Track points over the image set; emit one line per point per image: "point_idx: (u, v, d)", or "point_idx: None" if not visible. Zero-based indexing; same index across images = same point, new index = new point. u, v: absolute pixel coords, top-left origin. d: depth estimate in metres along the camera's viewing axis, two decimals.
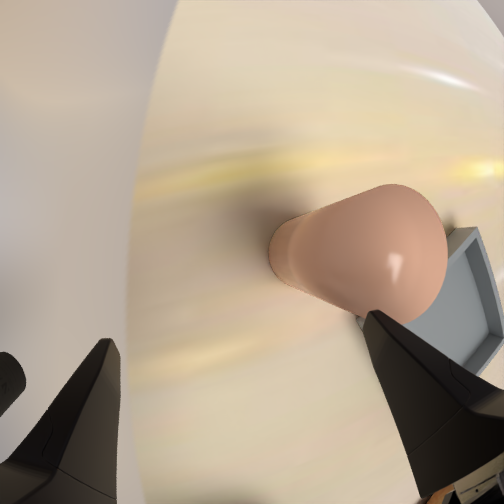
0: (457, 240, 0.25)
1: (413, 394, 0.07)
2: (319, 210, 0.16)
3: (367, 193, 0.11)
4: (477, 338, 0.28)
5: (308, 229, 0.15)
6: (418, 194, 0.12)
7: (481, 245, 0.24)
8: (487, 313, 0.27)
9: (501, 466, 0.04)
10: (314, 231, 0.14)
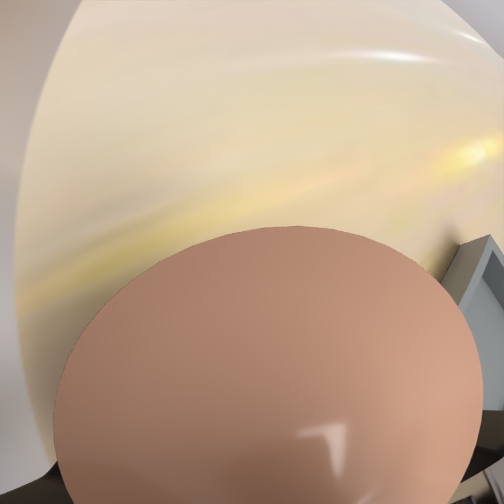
0: (468, 263, 0.17)
1: None
2: None
3: (108, 307, 0.03)
4: None
5: None
6: (349, 240, 0.03)
7: (501, 258, 0.16)
8: None
9: (466, 492, 0.04)
10: None
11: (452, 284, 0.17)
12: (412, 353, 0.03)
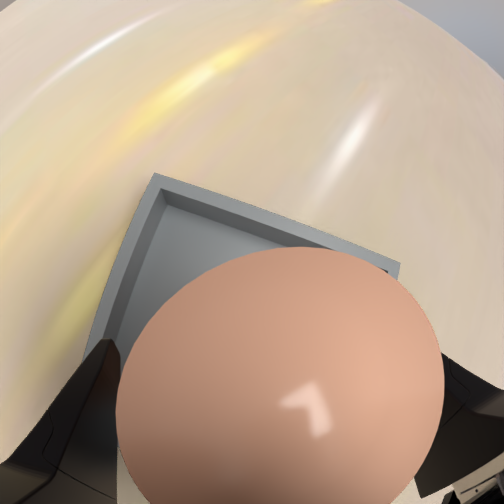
0: None
1: None
2: None
3: (168, 304, 0.04)
4: None
5: None
6: (336, 256, 0.05)
7: (182, 189, 0.17)
8: None
9: (501, 466, 0.04)
10: None
11: None
12: (382, 336, 0.05)
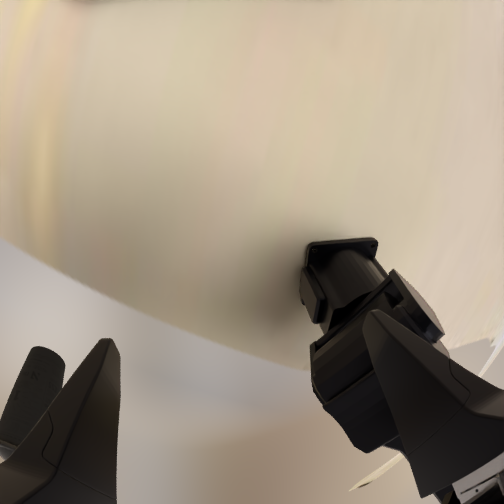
0: None
1: (413, 394, 0.07)
2: None
3: None
4: None
5: None
6: None
7: None
8: None
9: (501, 466, 0.04)
10: None
11: None
12: None
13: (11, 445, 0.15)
